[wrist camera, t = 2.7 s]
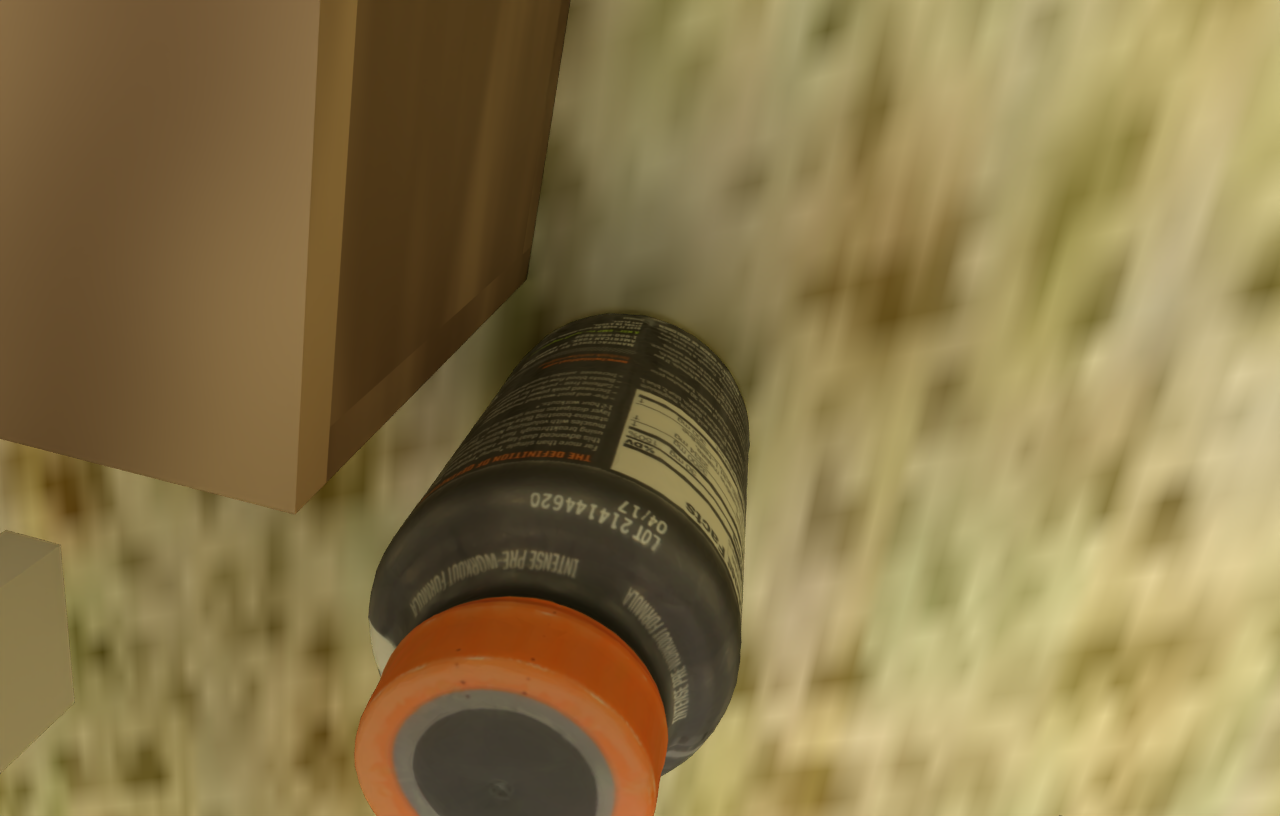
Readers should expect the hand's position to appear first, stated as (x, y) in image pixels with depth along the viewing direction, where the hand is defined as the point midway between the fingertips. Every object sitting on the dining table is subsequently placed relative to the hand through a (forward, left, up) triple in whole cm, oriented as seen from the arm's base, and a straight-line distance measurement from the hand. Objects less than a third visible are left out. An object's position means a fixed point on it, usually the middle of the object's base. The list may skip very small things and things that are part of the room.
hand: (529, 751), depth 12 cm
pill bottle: (0, 0, -11) cm, 11 cm away
